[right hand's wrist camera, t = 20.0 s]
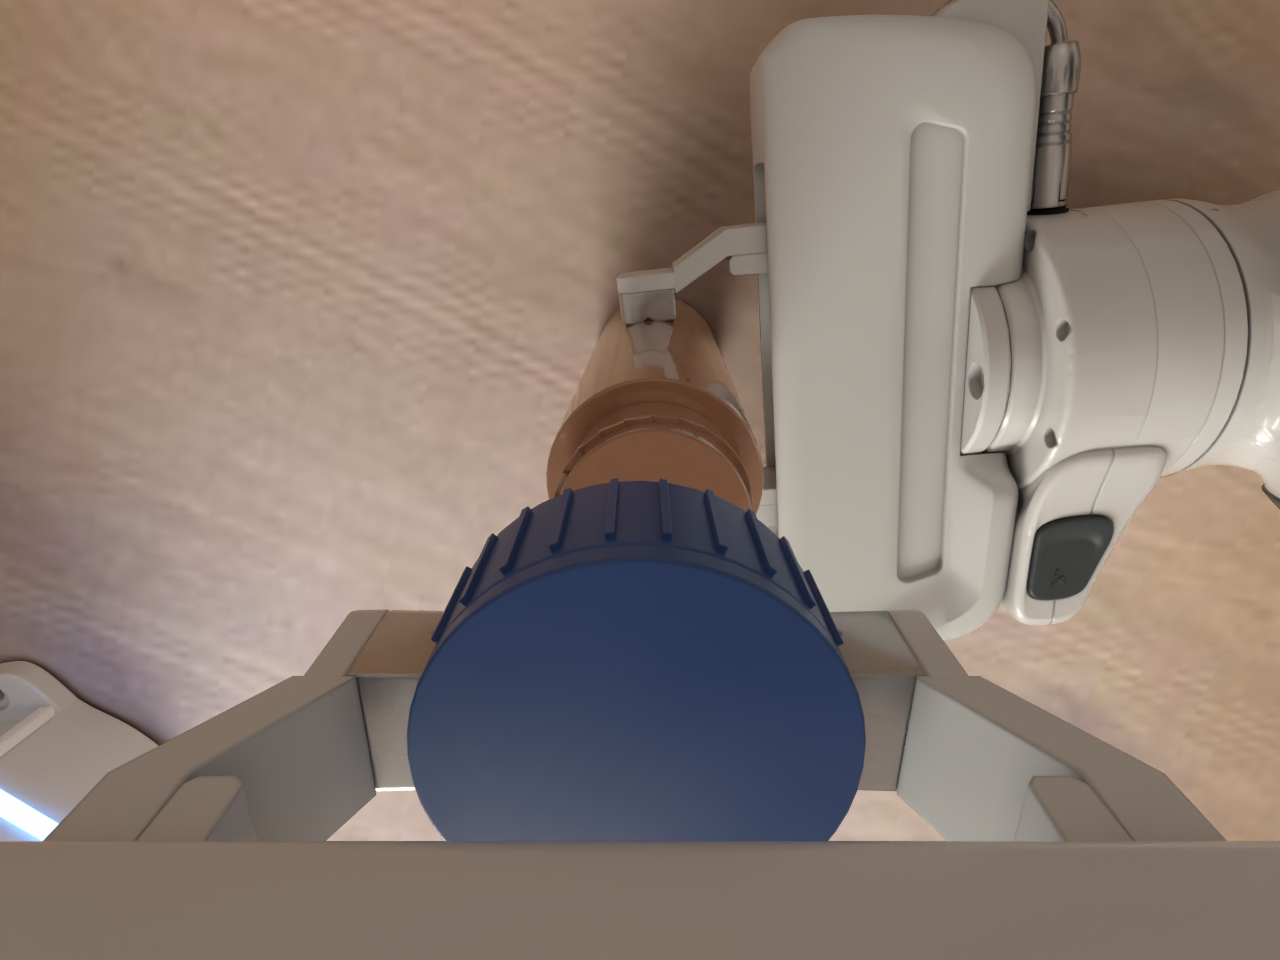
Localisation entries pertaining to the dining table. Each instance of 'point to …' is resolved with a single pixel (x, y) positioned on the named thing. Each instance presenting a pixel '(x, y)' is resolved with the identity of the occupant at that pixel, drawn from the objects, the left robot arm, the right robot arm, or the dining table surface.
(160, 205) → the dining table surface
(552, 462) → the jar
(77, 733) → the right robot arm
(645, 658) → the lid
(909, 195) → the left robot arm
